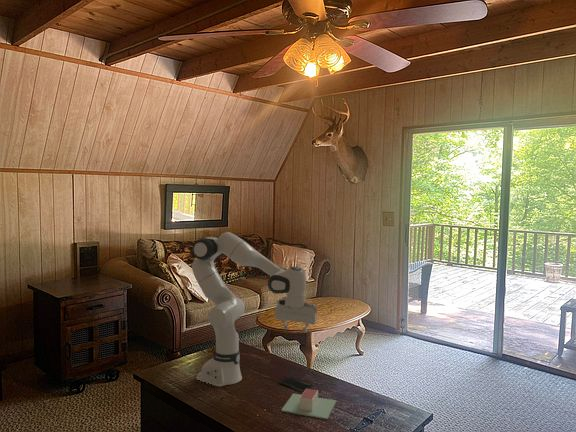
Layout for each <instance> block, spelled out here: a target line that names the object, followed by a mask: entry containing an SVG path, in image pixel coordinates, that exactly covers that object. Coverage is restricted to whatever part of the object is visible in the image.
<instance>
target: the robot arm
mask: <svg viewBox="0 0 576 432" xmlns="http://www.w3.org/2000/svg"><path fill="white" fill-rule="evenodd" d="M191 250H192V254H193V256H194V257H195V260H194V261H192V263H191V270H192V273H193V275H194V277H195V278H194V279H195V280H196V282H197V285H198V286H199V288H200V289H201V291H202V293H203V295H204V297H205V298H207V299H208V300H210V301H211V302H213V304H215V305H214V306H213V307H212V308H211V310H210V311H209V312H208V314H207V317H208V318H207V319H208V323H209V324H210V325H211V327H213V330H214V333H215V349H214V350H213V352H212V353H211V356H212V358H209V359H208V360H207V361H206V362H205V363H204V364H203V365H202V367H201V370H200V372H199V373H198V374H196V377H195V378H196V379H197V380H200V381H199V382H201V381H202V383H204V382H206V383H205V384H208V383H209V384H208V385H211V384H212V386H214V387H219V388H220V387H223V386H224V387H225V386H227V385H228V386H229V385H234V384H237V383H239V382H241V381H242V379H243V376H242V373H241V369H240V368H241V367H240V357H241V356H240V355H241V354H240V353H241V352H240V349H239V347H240V346H239V345H240V343H239V341H240V340H239V336H240V335H239V332H237V331H236V327H235V321H236V320H238V319H240V318H241V317H242V316H243V314H244V312H245V309H246V305H245V302H244V301H243V300H242V299H241V298H239V297H237V296H236V295H235V293H233V292H232V291H231V290H230V288H228V287H227V285H226V284H225V282H224V280H223V279H222V276H221V275H220V274H219V272H218V270H217V267H216V266H215V262H216V261H218V259H219V258H220V257H221V256H222V254H223V255H225V256H226V257H227V258H229V260H231V261H232V262H234V263H235V264H236V265H239V266H242V267H253V268H257V269H259V270H261V271H262V272H264V273H265V274H267V275H268V276H270V277H269V278H268V279H267V288H268V289H269V291H270V292H272V293H273V294H277V295H279V294H280V295H281V294H286V296H283V297H281V298H278V300H277V301H276V303H277V305H276V306H275V308H274V317H275V319H277V320H281V323H282V325H283V330H288V329H289V324H287V322H286V321H289V322H295V323H302V324H303V323H304V325H305V326H303V328H302V333H306V332H307V329H308V327H309V325H315V324H316V323H317V321H318V315H317V313H318V306H317V305H316V304H315V303H310V302H306V299H307V298H306V297H307V294H306V289H307V275H306V270H305V269H304V268H302V267H298V266H290V267H289V268H284V267H282V266H279V265H277V264H276V263H274V262H273V261H272V260H271V259H269V258H267V257H266V256H265V255H263V254H262V253H260V252H259V251H258V250H256V249H255V248H254V247H253V246H252V245H250V244H249V243H248V242H246V241H245V240H244V239H242V238H240V237H239V236H237V235H236V234H234V233H232V232H230V231H226V232H223V233H222V234H220V236H206V237H202V238H199V239H197V240H196V241H194V242H193V244H192V248H191ZM196 379H195V380H196ZM197 380H196V381H197Z"/></svg>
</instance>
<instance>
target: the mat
mask: <svg viewBox="0 0 576 432" xmlns="http://www.w3.org/2000/svg"><path fill="white" fill-rule="evenodd" d="M301 395H302V394H297V393H292V394H291V396H290V397H289V399H288V400H287V401H286V402H285V404H284V405H283V407H282V408H281V410H280V412H282V413H283V412H284V413H288V414H294V415H300V416H306V417H310V418H316V419H323V420H328V419H329V417H330V415H331V413H332V411H333V409H334V407H335V405H336V403H337V400H334V399H329V398H325V397H324V398H323V397H318V403H317V404H316V406H315V408H314V409H313V411H308V410H302V409H300V397H301Z"/></svg>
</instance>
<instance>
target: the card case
mask: <svg viewBox="0 0 576 432" xmlns="http://www.w3.org/2000/svg"><path fill="white" fill-rule="evenodd" d="M300 395H301V397H300V409H302V410H308V411H313V409H314V408H315V406H316V404H317V403H318V398H319V390H318V389H312V388H310V389H306V390H305V391H304V392H302V394H300Z"/></svg>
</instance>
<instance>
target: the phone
mask: <svg viewBox="0 0 576 432" xmlns="http://www.w3.org/2000/svg"><path fill="white" fill-rule="evenodd" d="M279 384H280V386H281V385H282V386H284V387H287V388H289V389H294V390H296V391H299V392H302V393H303V392H304V391H305V390H306V389H312V388H313V384H311V383H308V382H306V381H303V380H300V379H296V378H293V377H291V376H289V377H288V376H287V377H285V378H284V379H282V380H280V381H279Z"/></svg>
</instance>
